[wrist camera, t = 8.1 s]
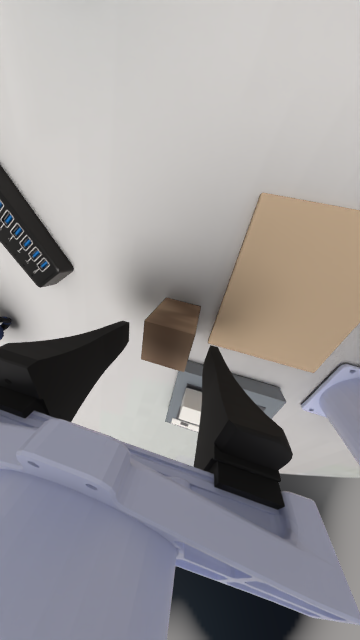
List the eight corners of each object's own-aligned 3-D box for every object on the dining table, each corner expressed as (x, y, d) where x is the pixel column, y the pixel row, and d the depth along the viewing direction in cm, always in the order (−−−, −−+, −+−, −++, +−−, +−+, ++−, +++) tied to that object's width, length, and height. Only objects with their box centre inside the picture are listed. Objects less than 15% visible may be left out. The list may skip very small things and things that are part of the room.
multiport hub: (57, 284, 19) (38, 288, 17) (-47, 152, 15) (-89, 137, 13) (78, 269, 17) (60, 271, 15) (-32, 115, 13) (-77, 90, 11)
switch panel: (279, 387, 19) (286, 403, 17) (242, 433, 24) (245, 449, 22) (182, 358, 20) (178, 370, 18) (168, 409, 25) (164, 422, 24)
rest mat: (433, 227, 10) (446, 226, 10) (310, 369, 17) (313, 373, 16) (260, 195, 11) (262, 192, 11) (208, 340, 18) (208, 343, 17)
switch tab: (209, 394, 18) (208, 414, 16) (203, 406, 20) (202, 426, 17) (186, 387, 19) (182, 406, 16) (182, 399, 20) (178, 418, 18)
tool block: (200, 306, 16) (195, 334, 11) (192, 335, 18) (184, 372, 13) (166, 297, 16) (144, 320, 11) (161, 327, 18) (141, 359, 13)
